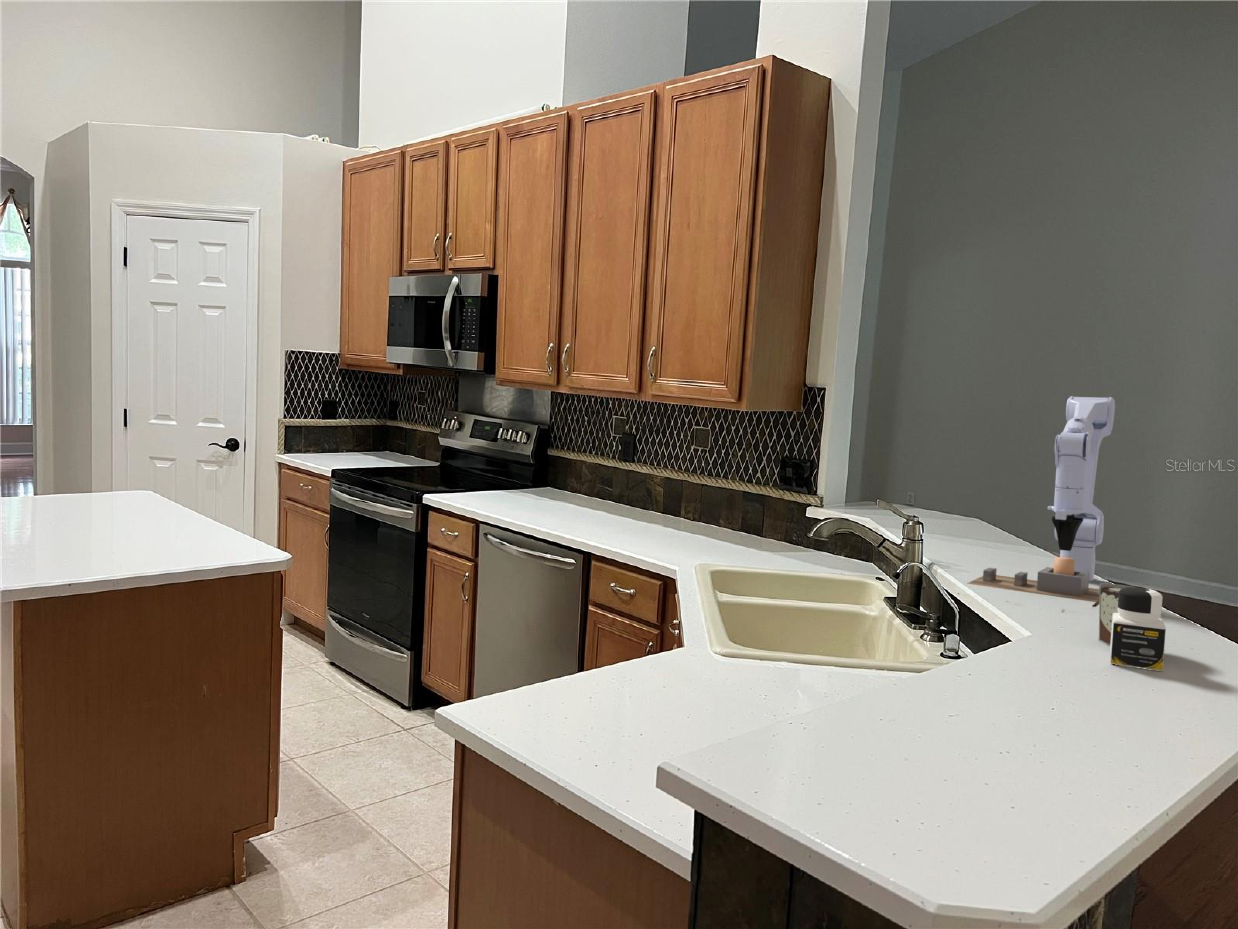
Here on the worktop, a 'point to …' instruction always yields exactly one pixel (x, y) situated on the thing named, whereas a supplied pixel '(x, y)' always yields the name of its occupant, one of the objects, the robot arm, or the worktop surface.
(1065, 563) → the peg
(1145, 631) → the medicine bottle
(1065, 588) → the socket
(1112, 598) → the food container
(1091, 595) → the dock board
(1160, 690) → the worktop surface
